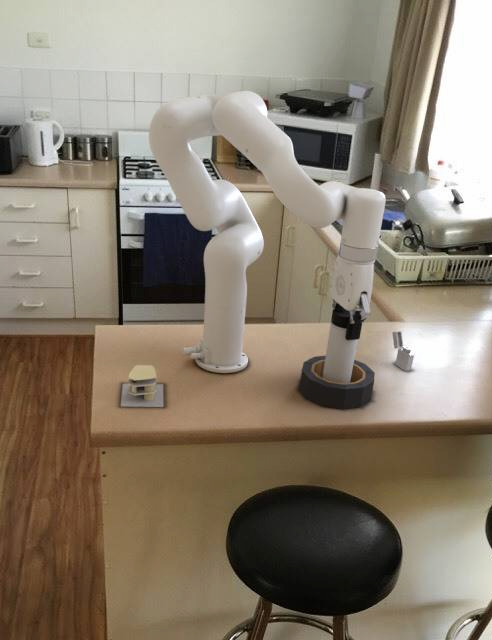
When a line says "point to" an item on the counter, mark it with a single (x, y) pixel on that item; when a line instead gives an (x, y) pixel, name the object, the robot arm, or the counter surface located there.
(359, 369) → the tape roll
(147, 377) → the stacked layers on plate
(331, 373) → the travel mug
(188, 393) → the counter surface
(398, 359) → the lighter
